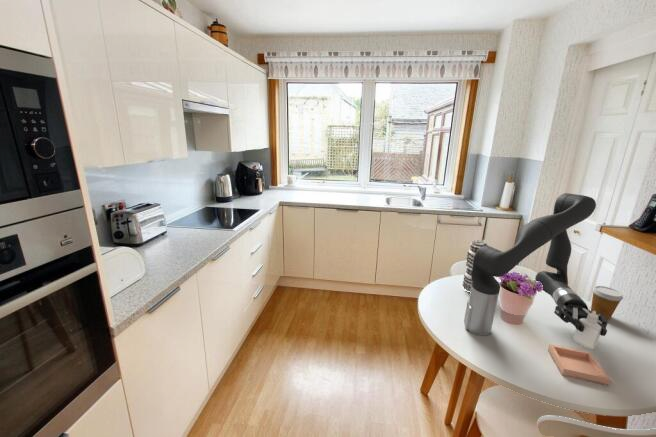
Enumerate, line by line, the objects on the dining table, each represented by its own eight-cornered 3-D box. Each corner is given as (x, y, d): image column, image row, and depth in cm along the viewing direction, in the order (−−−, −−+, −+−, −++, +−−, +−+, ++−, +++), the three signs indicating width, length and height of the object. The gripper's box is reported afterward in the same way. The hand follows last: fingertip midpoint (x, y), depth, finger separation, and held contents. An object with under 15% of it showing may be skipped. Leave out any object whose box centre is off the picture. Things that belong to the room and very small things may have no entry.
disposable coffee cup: (620, 320, 123) (629, 295, 120) (605, 324, 120) (614, 298, 117) (594, 308, 132) (602, 284, 128) (580, 311, 129) (587, 286, 126)
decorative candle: (481, 296, 138) (491, 247, 131) (459, 291, 142) (468, 242, 136) (482, 288, 145) (492, 241, 138) (462, 283, 150) (470, 237, 143)
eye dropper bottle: (584, 349, 92) (595, 316, 88) (570, 337, 97) (580, 306, 94) (598, 349, 92) (609, 317, 88) (582, 337, 97) (593, 306, 94)
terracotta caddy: (561, 375, 93) (563, 368, 93) (547, 350, 104) (549, 344, 104) (608, 385, 90) (610, 379, 89) (588, 358, 101) (590, 352, 100)
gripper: (548, 289, 107) (568, 316, 91) (596, 296, 103) (626, 326, 87) (543, 307, 109) (562, 336, 94) (590, 315, 105) (618, 347, 89)
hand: (593, 331), depth 90 cm, fingers closed on eye dropper bottle, 5 cm apart
